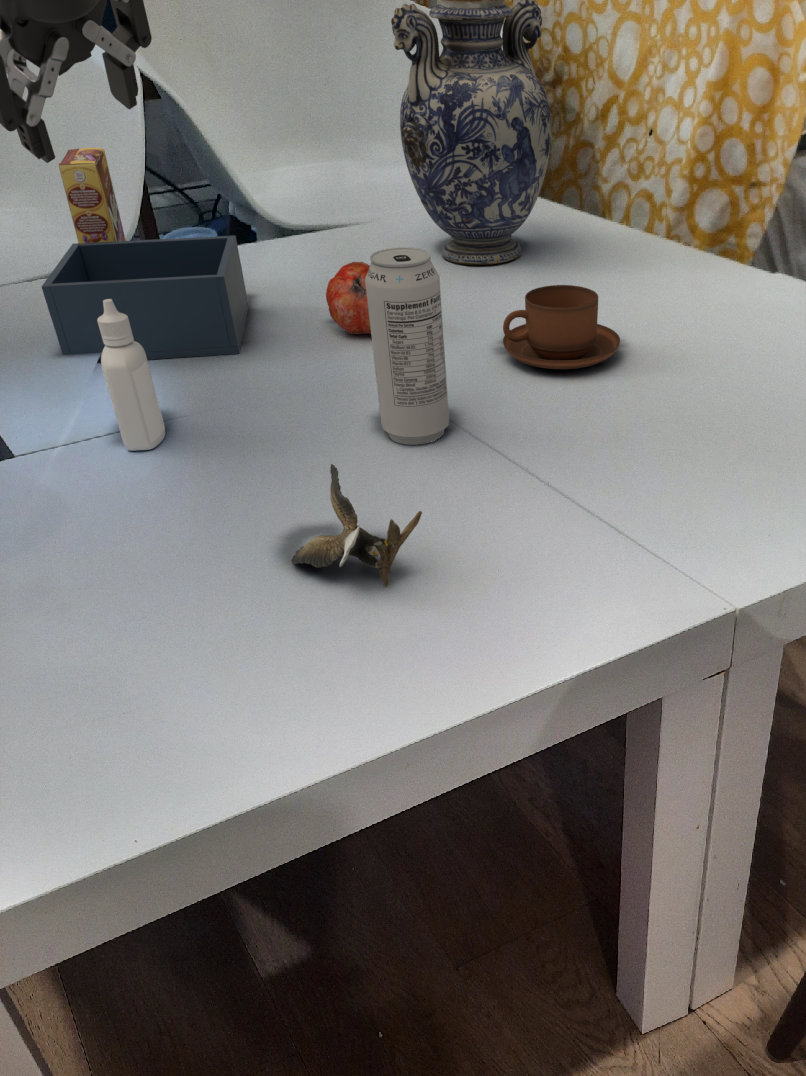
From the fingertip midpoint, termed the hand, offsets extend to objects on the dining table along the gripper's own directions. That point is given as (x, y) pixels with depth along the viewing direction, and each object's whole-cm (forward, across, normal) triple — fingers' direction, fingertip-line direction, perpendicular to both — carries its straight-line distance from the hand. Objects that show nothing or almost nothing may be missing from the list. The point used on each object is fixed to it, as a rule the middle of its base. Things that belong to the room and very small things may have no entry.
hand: (84, 127), depth 81 cm
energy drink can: (+11, -4, +33) cm, 35 cm away
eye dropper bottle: (+15, +12, +15) cm, 24 cm away
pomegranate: (+27, -18, +15) cm, 35 cm away
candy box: (+40, -8, -15) cm, 43 cm away
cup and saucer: (+18, -25, +35) cm, 47 cm away
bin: (+31, -4, -2) cm, 31 cm away
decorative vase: (+40, -47, +10) cm, 62 cm away
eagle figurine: (0, +14, +41) cm, 44 cm away
